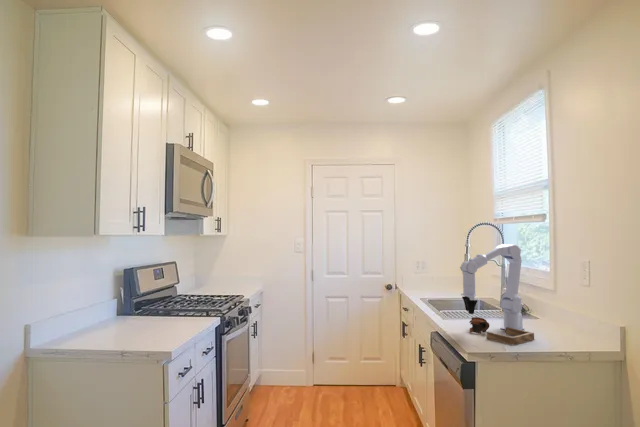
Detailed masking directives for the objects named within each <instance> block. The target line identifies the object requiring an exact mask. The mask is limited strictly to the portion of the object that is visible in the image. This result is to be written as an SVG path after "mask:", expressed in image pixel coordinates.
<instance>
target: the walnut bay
mask: <svg viewBox="0 0 640 427" xmlns="http://www.w3.org/2000/svg"><path fill="white" fill-rule="evenodd" d="M505 334H506V335H505ZM505 334H500V333H495V332H491V331H486V340H491V341H495V342H499V343H504V344H508V345H511V346H515V345H518V344H522V343H527V342H529V341H533V340H535V333H534V332H532V331H527V330H524V329H523V330H518V329H514V328H509V327H506V330H505ZM509 335H511V336H509Z"/></svg>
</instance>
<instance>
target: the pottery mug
mask: <svg viewBox="0 0 640 427" xmlns="http://www.w3.org/2000/svg"><path fill="white" fill-rule="evenodd" d="M469 324H470V325H471V326H472V327H469V332H470V333H476V334H479V333H481V334H482V332H483V333H487V330H489V328H490V323H489V322H488V321H487V320H486V318H483V317H477V316H475V317H472V318H471V320H470V321H469Z"/></svg>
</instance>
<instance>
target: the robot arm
mask: <svg viewBox="0 0 640 427" xmlns="http://www.w3.org/2000/svg"><path fill="white" fill-rule="evenodd" d="M521 252H522V249H521V248H520V247H519V246H518V245H517V244H508V243H507V244H506V243H501V244H499V245H496V247H495V248H493V249H491V250H490V251H488V252H487V253H485V254H481V253H480V254H476V256H475V257H473V258H470V259H468V261H467V260H466V261H465V260H464V261H462V263H461V265H460V266H459V268H460V269H459V270H461V273H462V286H463V288H462V289H463V291H462V292H463V293H461V294H460V296H462V297H461V298H462V300H463V303H464V308H465V310H466V312H468V314H469V315H473V314H475V310H476V305H477V303H478V300H477V299H475V297H476V296H477V294H476V272H477V271H478V269H480V268H482V267H484V266H485V265H487V264H488V261H490V260H492V259H495V258H496V257H499V256H501V257H503V258H504V259H505V260H507V262H508V263H509V265H508V273H507V281H506V291H505V293H504V294H502V298H501V300H500V302H499V305H500V308H501V309H502V311H503V326H502V327H500V329H502V330H505V331H506V327H509V328H514V329H518V330H523V331H524V330H525V327H524V323H523V320H524V318H523V315H522V313H521V311H522V308H523V303H522V298H521V297H520V295H519V294H518V293H519V286H520V276H521V269H522V268H521V266H522V257H521Z"/></svg>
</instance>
